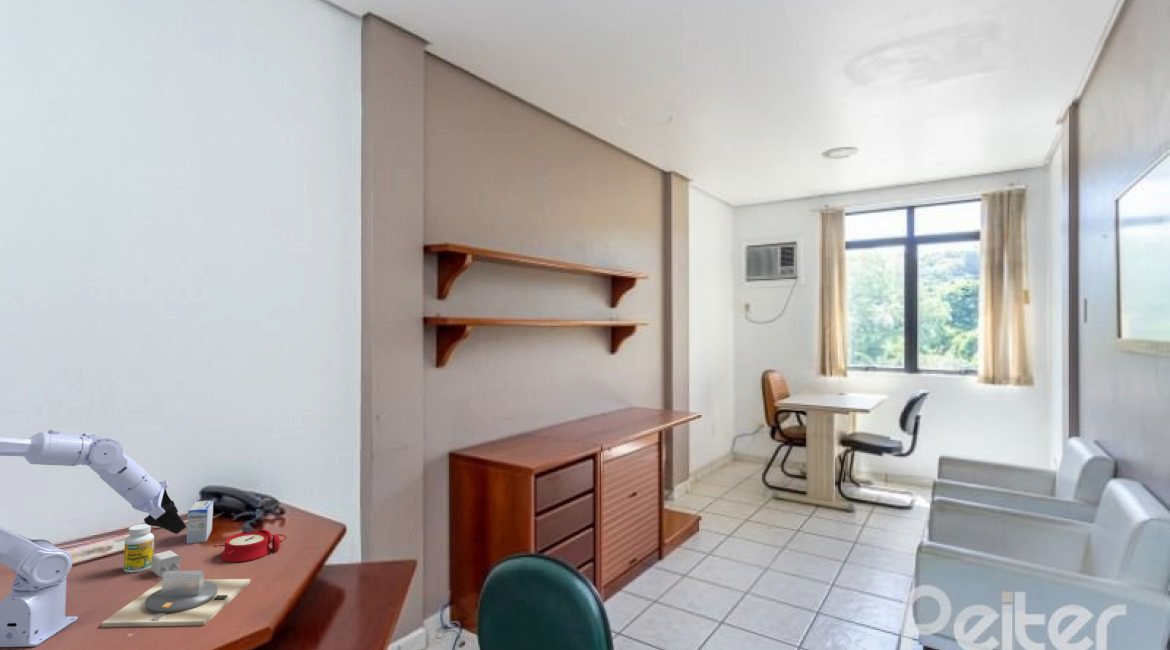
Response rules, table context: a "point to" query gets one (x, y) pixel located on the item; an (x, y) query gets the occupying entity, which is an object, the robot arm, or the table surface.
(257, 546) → the alarm clock
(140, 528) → the supplement bottle
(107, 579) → the table surface
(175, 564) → the usb wall charger
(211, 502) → the medicine box
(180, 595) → the twist dial
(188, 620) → the plate
